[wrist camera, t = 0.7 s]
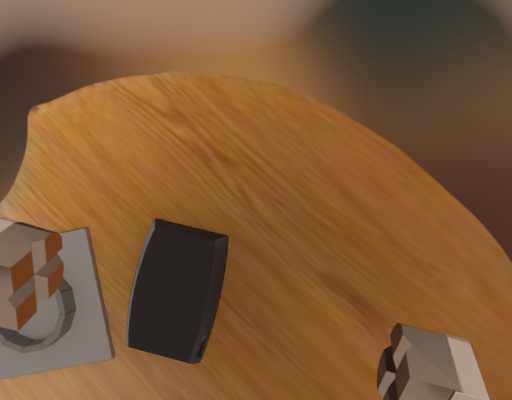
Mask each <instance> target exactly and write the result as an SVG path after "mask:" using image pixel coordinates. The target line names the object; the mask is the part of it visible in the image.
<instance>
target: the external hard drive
mask: <svg viewBox="0 0 512 400" xmlns="http://www.w3.org/2000/svg"><path fill="white" fill-rule="evenodd" d="M228 238H229V237H228V236H226V235H223V234H218V233H214V232H210V231H206V230H202V229H198V228H193V227H189V226H185V225H181V224H177V223H172V222H168V221H164V220H161V219H154V220H153V222H152V225H151V227H150V230H149V232H148V235H147V238H146V240H145V243H144V246H143V249H142V252H141V256H140V259H139V262H138V266H137V269H136V273H135V277H134V281H133V286H132V291H131V297H130V303H129V310H128V319H127V332H126V346H128V347H131V348H134V349H138V350H141V351H145V352H149V353H153V354H157V355H161V356H164V357H168V358H172V359H175V360H179V361H183V362H186V363H189V364H195V363H199V362H200V361H201V359H202V357H203V354H204V352H205V349H206V346H207V343H208V340H209V337H210V334H211V330H212V327H213V323H214V320H215V316H216V312H217V308H218V304H219V299H220V294H221V290H222V284H223V279H224V273H225V267H226V260H227V252H228V242H229V241H228Z"/></svg>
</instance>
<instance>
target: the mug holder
mask: <svg viewBox="0 0 512 400" xmlns="http://www.w3.org/2000/svg"><path fill="white" fill-rule="evenodd" d="M60 235H61V236H62V246H63V248H62V249H61V250H60V251H59V252H58V253H57V254H58V255H59V257H60V258H61V260H62V261H63V264H64V272H63V277H62V281H61V283H60V285H59V287H58V289H57V291H56V292H55V293H54V294H53V295H52V296H51V297H50V298H49V299H48V300H45V301H42V302H40V303H37V312H36V313H35V314H34V315H33V316H32V317H31V318H30V319H29V320H28V321H27V323H26V324H25V325H24V326H23V327H22V328H21V329H20V330H19V331H15V330H11V329H7V328H3V327H0V379H5V378H11V377H16V376H22V375H27V374H33V373H38V372H44V371H49V370H55V369H60V368H66V367H71V366H77V365H82V364H88V363H93V362H99V361H105V360H110V359H113V358H114V357H115V354H114V349H113V344H112V339H111V334H110V330H109V325H108V320H107V315H106V310H105V306H104V301H103V296H102V291H101V286H100V282H99V277H98V272H97V267H96V262H95V258H94V253H93V248H92V243H91V238H90V234H89V229H88V228H84V229H79V230H75V231H70V232H65V233H61V234H60Z"/></svg>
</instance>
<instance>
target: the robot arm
mask: <svg viewBox="0 0 512 400" xmlns="http://www.w3.org/2000/svg"><path fill="white" fill-rule="evenodd" d="M62 248H63V246H62V236H61V235H60V234H59V233H57V232H54V231H51V230H47V229H44V228H41V227H37V226H34V225H30V224H27V223H23V222H18V221H15V220H12V219H8V218H5V217H0V327H3V328H7V329H11V330H15V331H19V330H20V329H21V328H22V327H23V326H24V325H25V324H26V323H27V321H28V320H29V319H30V318H31V317H32V316H33V315H34V314H35V313H36V312H37V303H40V302H42V301H45V300H48V299H49V298H50V297H51V296H52V295H53V294H54V293H55V292H56V291H57V289H58V287H59V285H60V283H61V281H62V277H63V272H64V264H63V261H62V260H61V258H60V257H59V255H58V254H57V253H58V252H59V251H60V250H61V249H62ZM390 336H391V346H389V347H387V348H385V349H384V351H383V353H382V356H381V358H380V362H379V366H378V371H377V391H378V392H379V394H380V395H381V396H382V398H383V400H490V399H489V396H488V393H487V391H486V388H485V385H484V382H483V379H482V376H481V374H480V371H479V368H478V365H477V362H476V359H475V356H474V354H473V351H472V348H471V345H470V343H469V341H468V340H467V339H464V338H460V337H456V336H452V335H448V334H441V333H437V332H433V331H429V330H425V329H422V328H418V327H414V326H410V325H406V324H402V323H397V324H396V325H395V326H394V328H393V330H392V333H391V335H390Z"/></svg>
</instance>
